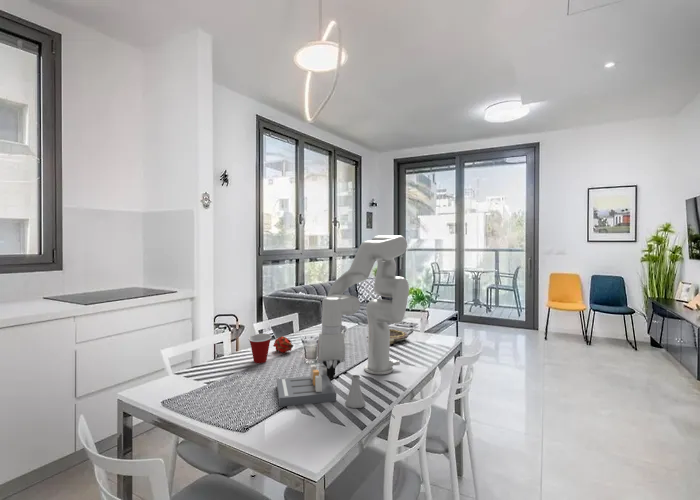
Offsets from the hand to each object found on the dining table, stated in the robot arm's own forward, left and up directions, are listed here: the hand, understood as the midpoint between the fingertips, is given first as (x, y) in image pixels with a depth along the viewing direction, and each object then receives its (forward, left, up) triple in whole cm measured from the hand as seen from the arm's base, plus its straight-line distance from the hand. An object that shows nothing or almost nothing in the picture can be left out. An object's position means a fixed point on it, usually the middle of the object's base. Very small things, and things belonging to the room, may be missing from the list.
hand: (330, 377), depth 142 cm
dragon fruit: (+14, -54, -6) cm, 56 cm away
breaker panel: (+10, 0, -5) cm, 11 cm away
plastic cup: (+26, -41, -6) cm, 49 cm away
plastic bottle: (-1, -15, -6) cm, 16 cm away
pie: (-48, -65, -6) cm, 81 cm away
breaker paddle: (+6, 0, -2) cm, 6 cm away
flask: (-6, +13, -6) cm, 15 cm away
